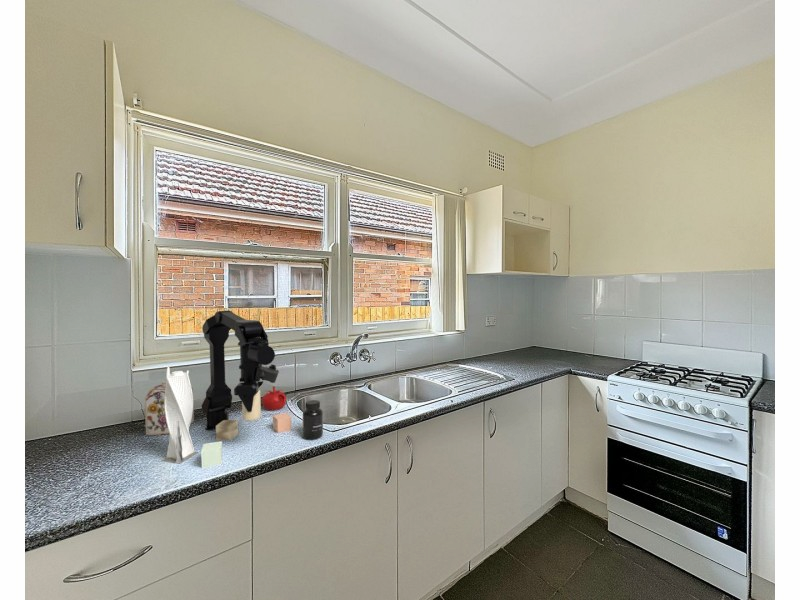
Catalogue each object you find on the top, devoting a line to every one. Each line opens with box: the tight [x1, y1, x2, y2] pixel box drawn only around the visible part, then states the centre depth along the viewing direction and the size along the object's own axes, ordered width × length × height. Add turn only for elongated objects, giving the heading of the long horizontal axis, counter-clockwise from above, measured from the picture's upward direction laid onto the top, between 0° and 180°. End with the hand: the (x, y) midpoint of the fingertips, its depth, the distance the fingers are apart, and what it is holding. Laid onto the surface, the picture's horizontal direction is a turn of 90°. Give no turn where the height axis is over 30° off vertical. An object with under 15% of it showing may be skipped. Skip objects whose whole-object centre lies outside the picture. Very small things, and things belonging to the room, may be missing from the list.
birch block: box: [215, 419, 239, 441], centre depth 122 cm, size 5×5×5 cm
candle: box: [241, 388, 262, 422], centre depth 113 cm, size 6×6×10 cm
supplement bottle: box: [302, 399, 324, 441], centre depth 121 cm, size 7×7×12 cm
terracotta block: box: [272, 412, 293, 434], centre depth 128 cm, size 5×5×5 cm
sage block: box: [200, 440, 223, 468], centre depth 104 cm, size 5×5×5 cm
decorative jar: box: [144, 379, 195, 436], centre depth 129 cm, size 12×12×18 cm
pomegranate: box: [261, 385, 287, 411], centre depth 150 cm, size 10×10×9 cm
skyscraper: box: [160, 366, 199, 465], centre depth 108 cm, size 8×8×28 cm
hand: (251, 408), depth 113 cm, fingers closed on candle, 5 cm apart
